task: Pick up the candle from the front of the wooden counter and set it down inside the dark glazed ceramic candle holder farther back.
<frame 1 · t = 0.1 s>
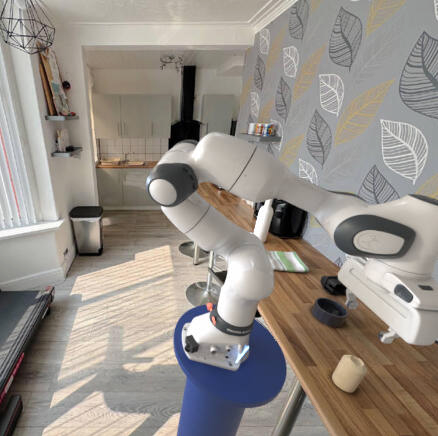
hand: (365, 322, 54), 28 cm above the table, tool pointing down, fingers open, 8 cm apart
dish towel: (278, 262, 126), on the table
holder: (326, 316, 92), on the table
end cap: (333, 289, 108), on the table
bottle: (258, 240, 149), on the table
candle: (342, 383, 69), on the table
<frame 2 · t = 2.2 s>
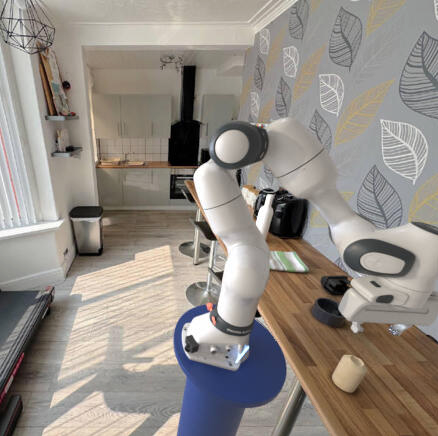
hand: (374, 332, 60), 21 cm above the table, tool pointing down, fingers open, 8 cm apart
nothing on the table moved.
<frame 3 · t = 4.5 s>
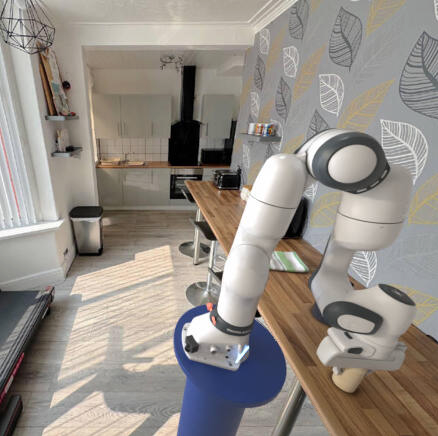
hand: (348, 373, 67), 4 cm above the table, tool pointing down, fingers closed on candle, 5 cm apart
candle: (342, 383, 69), on the table, touching gripper
everything else where it was.
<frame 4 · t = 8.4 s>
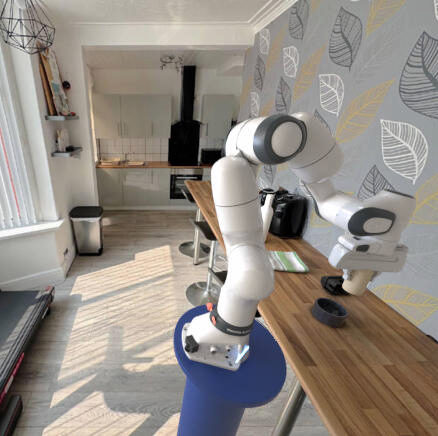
hand: (356, 279, 76), 23 cm above the table, tool pointing down, fingers closed on candle, 5 cm apart
candle: (351, 290, 78), point 19 cm above the table, touching gripper
everything else where it was.
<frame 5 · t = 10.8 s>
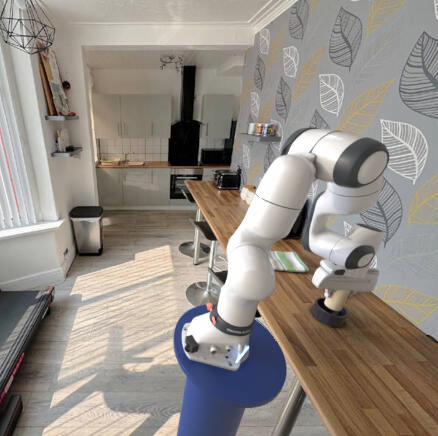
hand: (336, 297, 88), 10 cm above the table, tool pointing down, fingers closed on candle, 5 cm apart
candle: (332, 306, 90), point 5 cm above the table, touching gripper
everything else where it was.
when the fingers open (5 cm above the table, at t = 13.1 s): candle stays where it is, resting on holder.
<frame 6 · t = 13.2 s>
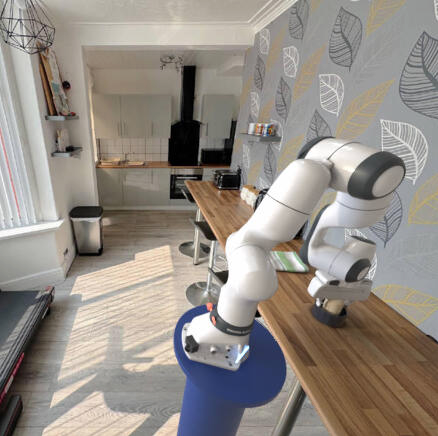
hand: (331, 306, 90), 5 cm above the table, tool pointing down, fingers open, 8 cm apart
candle: (327, 316, 92), resting on holder
everything else where it was.
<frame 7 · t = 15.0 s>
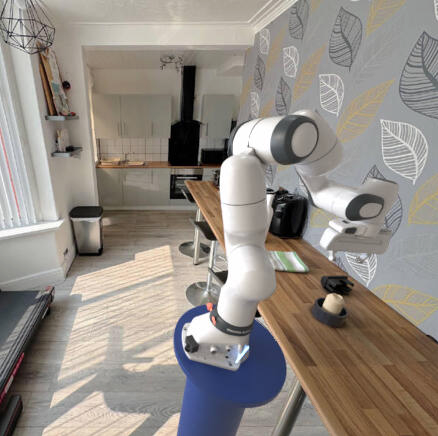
hand: (345, 261, 83), 25 cm above the table, tool pointing down, fingers open, 8 cm apart
nothing on the table moved.
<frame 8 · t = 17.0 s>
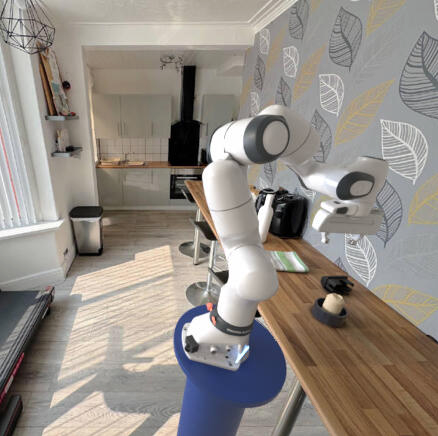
hand: (338, 243, 83), 31 cm above the table, tool pointing down, fingers open, 8 cm apart
nothing on the table moved.
at the end: candle 0.2 cm off-centre in the holder, point 0.4 cm above the holder's base; candle tilted 0° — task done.
